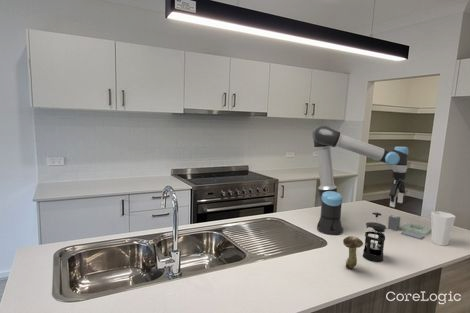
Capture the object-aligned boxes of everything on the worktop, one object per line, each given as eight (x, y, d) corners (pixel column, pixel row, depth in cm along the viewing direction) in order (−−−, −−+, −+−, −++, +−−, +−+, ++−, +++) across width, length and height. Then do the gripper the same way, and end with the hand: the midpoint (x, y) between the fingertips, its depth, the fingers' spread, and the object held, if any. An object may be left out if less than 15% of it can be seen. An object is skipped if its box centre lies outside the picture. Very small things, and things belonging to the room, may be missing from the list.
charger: (387, 228, 185) (389, 216, 184) (390, 227, 188) (391, 214, 187) (396, 231, 181) (397, 218, 180) (399, 229, 185) (400, 216, 184)
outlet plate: (400, 229, 185) (400, 226, 184) (407, 224, 194) (407, 221, 194) (425, 236, 174) (425, 233, 174) (431, 230, 184) (432, 227, 184)
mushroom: (358, 275, 127) (361, 243, 125) (338, 269, 132) (340, 238, 130) (362, 266, 135) (365, 236, 133) (342, 261, 140) (345, 231, 138)
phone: (400, 234, 177) (400, 232, 177) (404, 232, 181) (404, 230, 181) (421, 240, 169) (421, 238, 169) (424, 238, 173) (424, 236, 173)
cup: (452, 243, 164) (456, 214, 162) (450, 249, 157) (454, 218, 155) (429, 237, 172) (432, 209, 170) (426, 242, 165) (429, 213, 162)
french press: (374, 264, 138) (379, 217, 135) (357, 256, 146) (361, 212, 143) (389, 259, 144) (394, 214, 141) (372, 251, 152) (376, 208, 149)
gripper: (398, 174, 169) (395, 209, 172) (412, 170, 186) (409, 202, 188) (385, 172, 174) (382, 206, 177) (399, 168, 191) (396, 199, 194)
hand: (396, 204), depth 183 cm, fingers open, 13 cm apart
